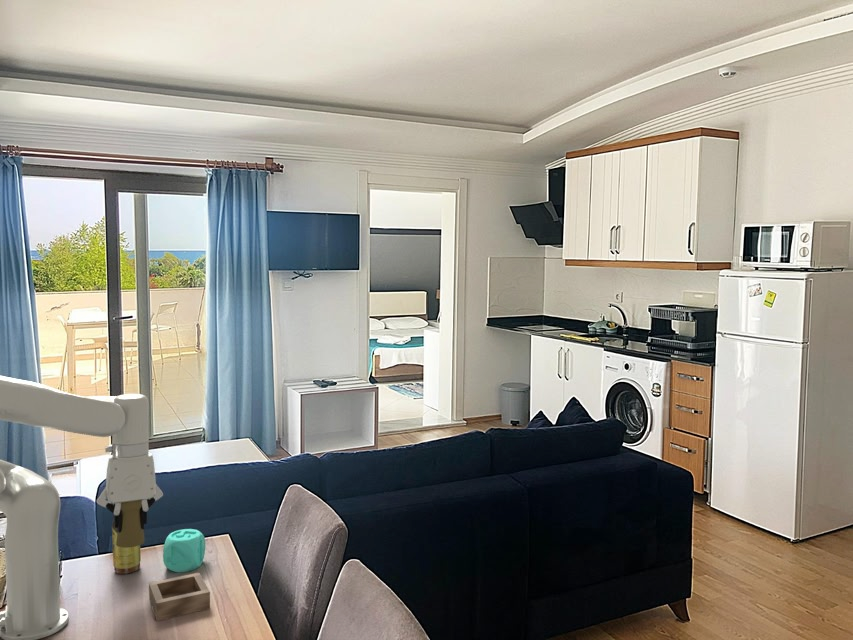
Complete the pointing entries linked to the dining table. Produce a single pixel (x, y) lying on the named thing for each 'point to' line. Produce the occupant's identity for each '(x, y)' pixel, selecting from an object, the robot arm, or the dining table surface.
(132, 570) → the sauce bottle
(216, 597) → the dining table surface
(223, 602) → the dining table surface
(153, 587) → the shaker holder
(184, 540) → the decorative dice
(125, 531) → the cork
